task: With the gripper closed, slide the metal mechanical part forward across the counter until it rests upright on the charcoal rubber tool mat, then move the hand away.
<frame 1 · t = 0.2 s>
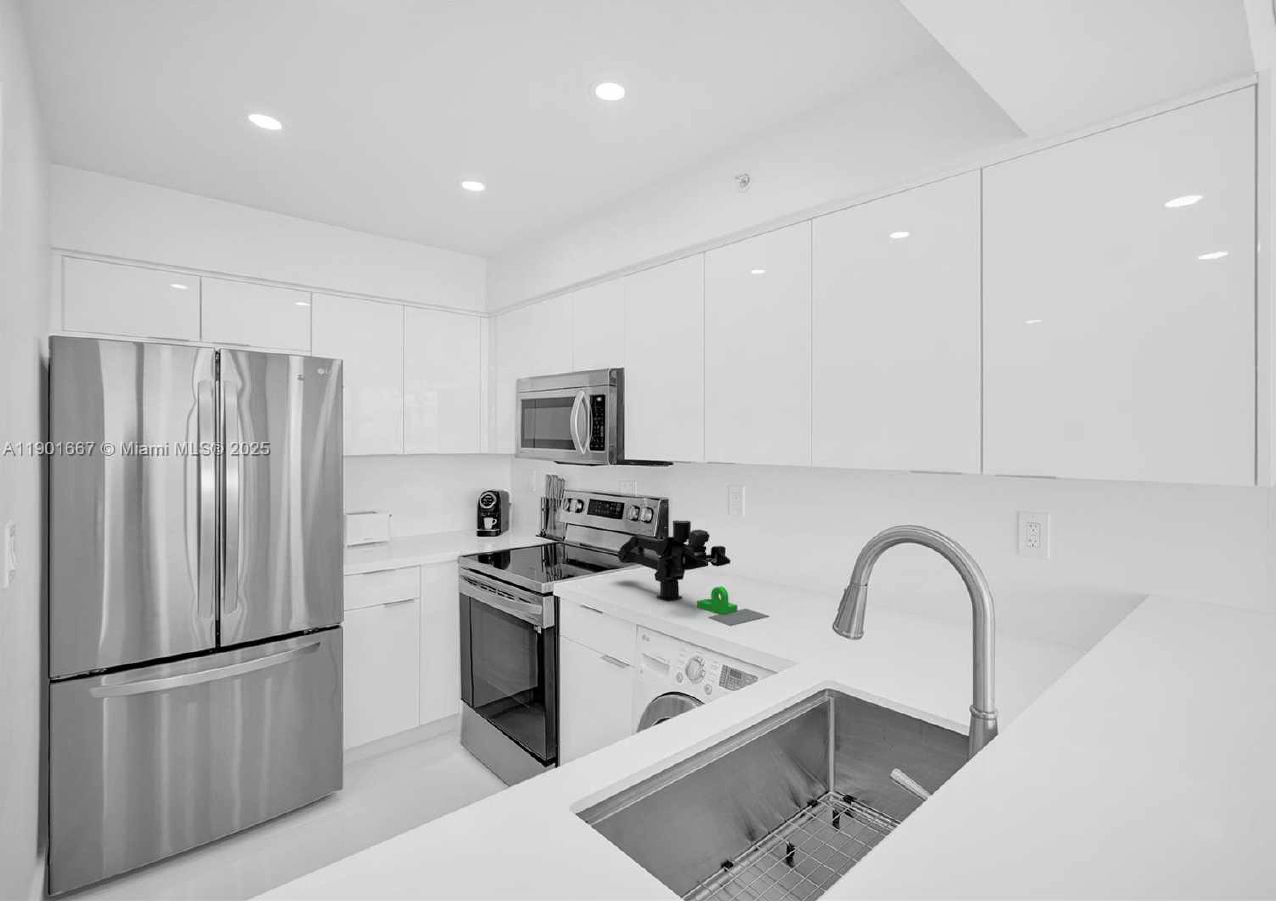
hand: (719, 563, 192), 16 cm above the counter, tool horizontal, fingers open, 9 cm apart
mechanical part: (716, 609, 199), on the counter, touching tool mat
tool mat: (738, 617, 190), on the counter
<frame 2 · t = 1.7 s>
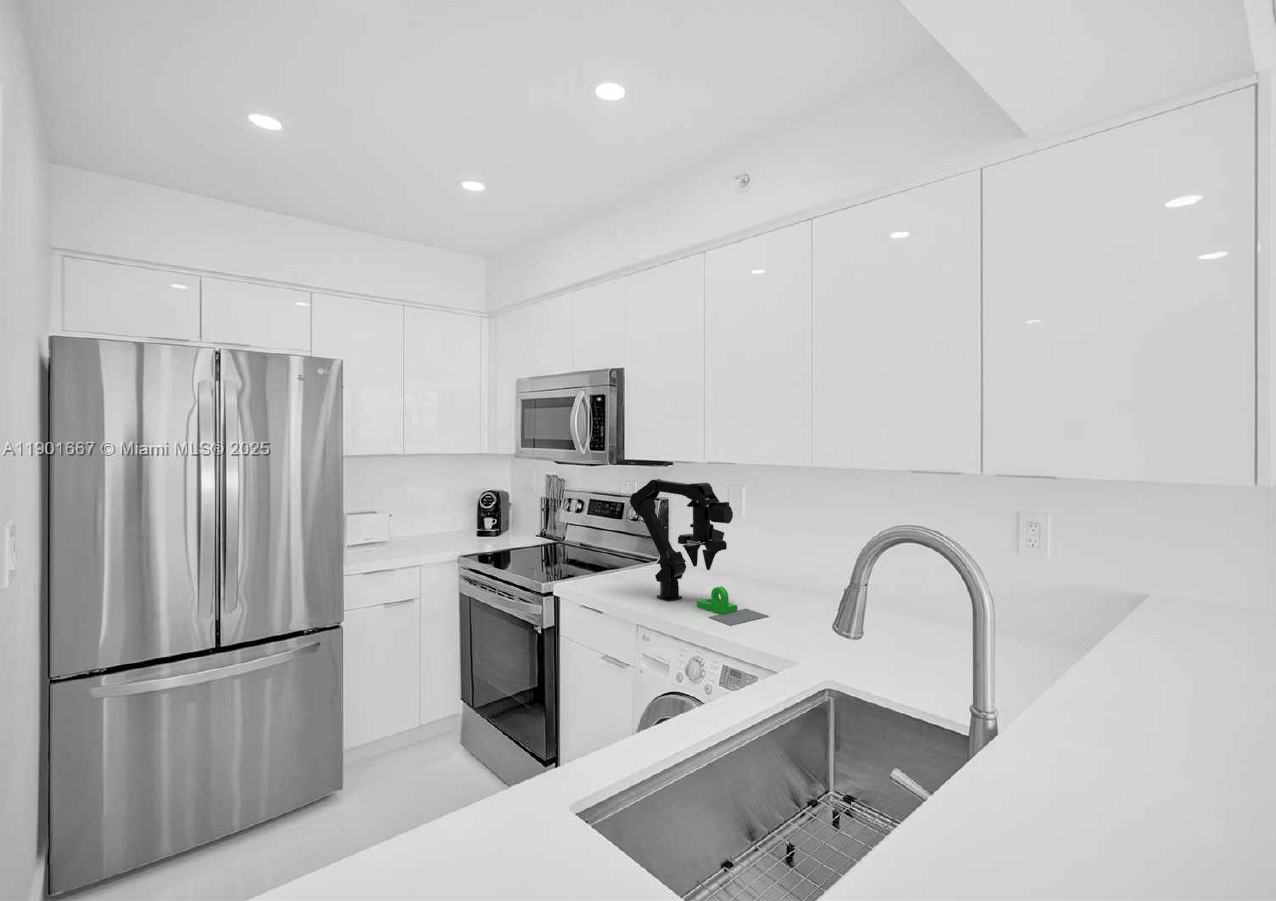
hand: (701, 568, 205), 12 cm above the counter, tool pointing down, fingers open, 6 cm apart
nothing on the counter moved.
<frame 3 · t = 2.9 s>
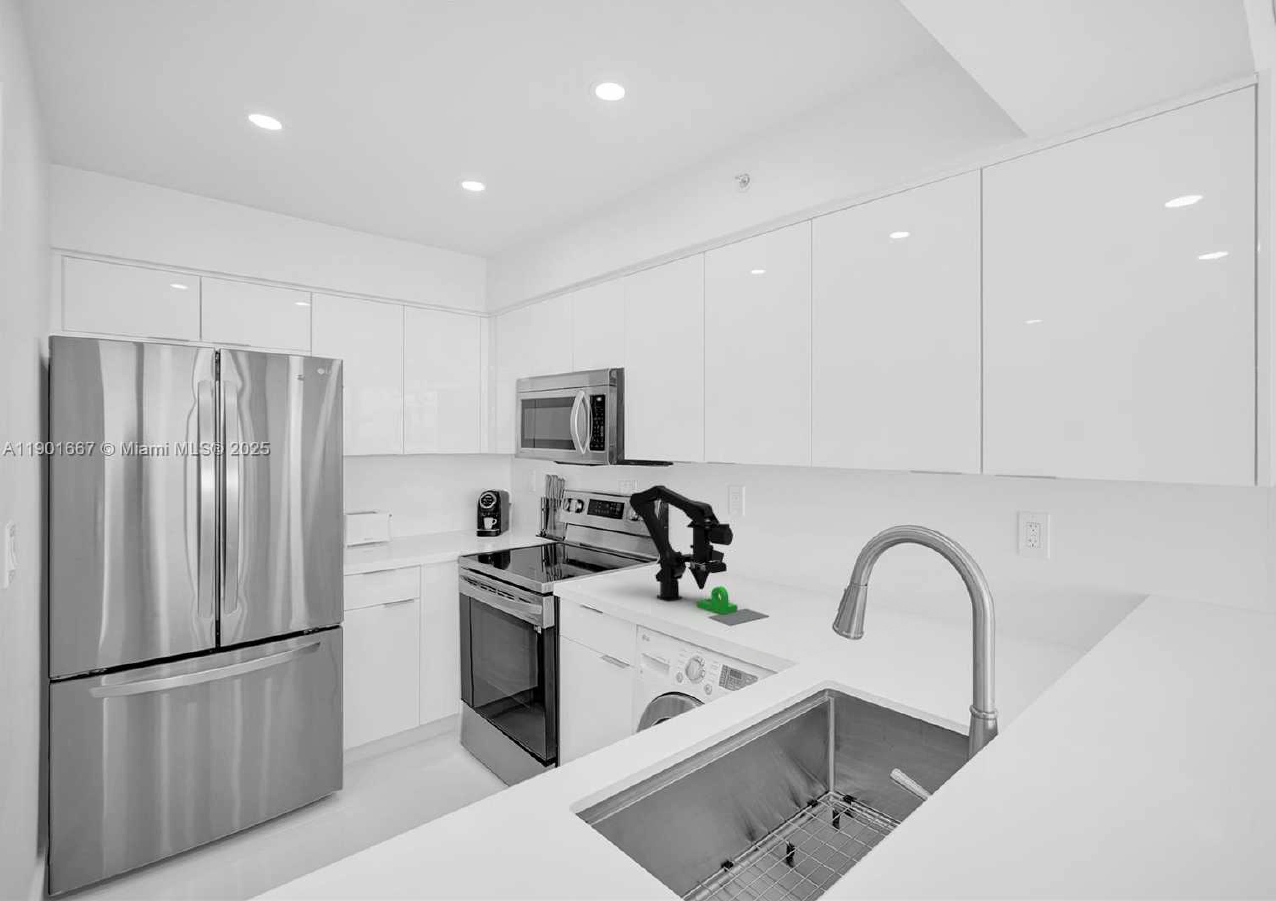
hand: (701, 589, 205), 5 cm above the counter, tool pointing down, fingers closed
nothing on the counter moved.
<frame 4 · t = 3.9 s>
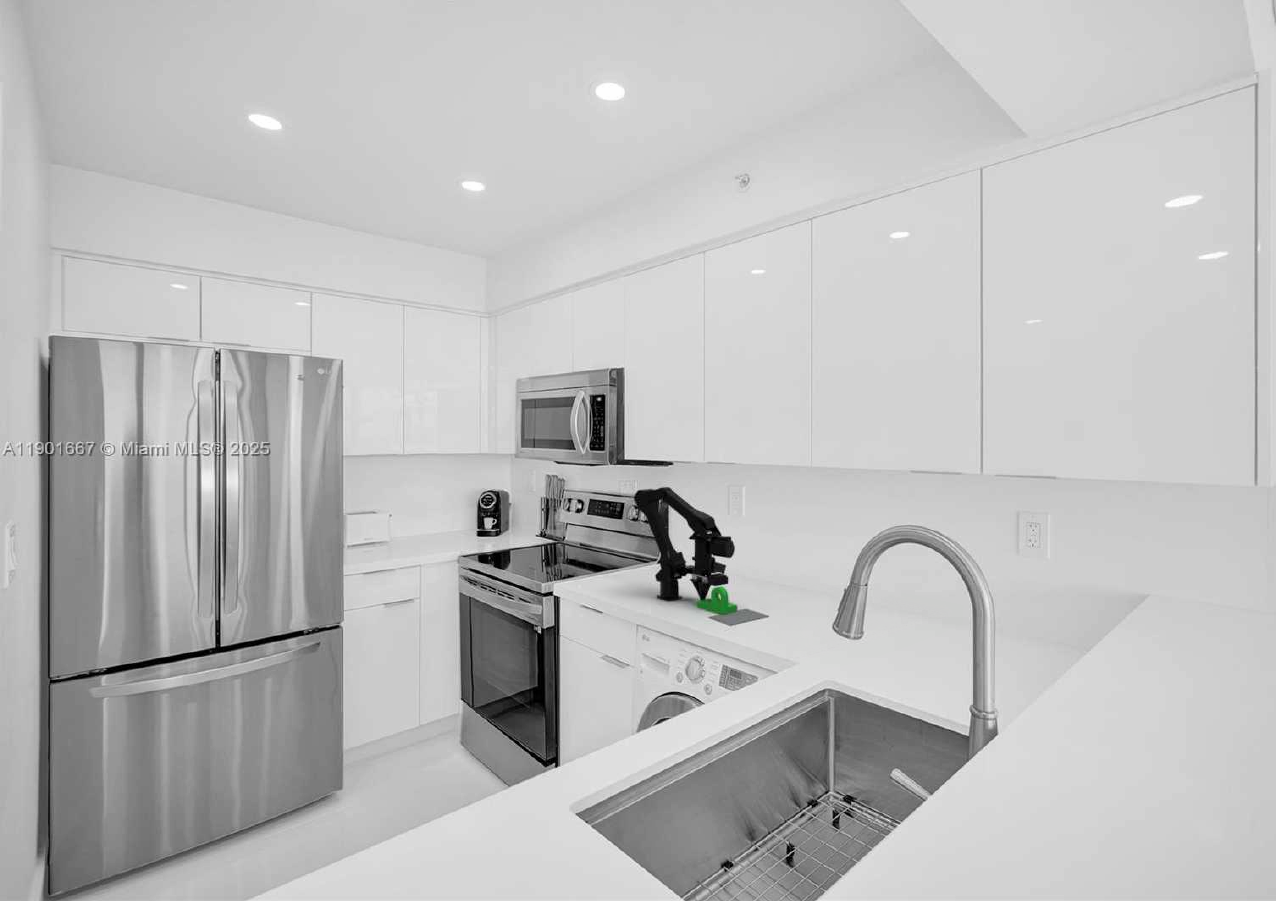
hand: (703, 601, 204), 1 cm above the counter, tool pointing down, fingers closed
mechanical part: (716, 609, 199), on the counter, touching gripper, tool mat
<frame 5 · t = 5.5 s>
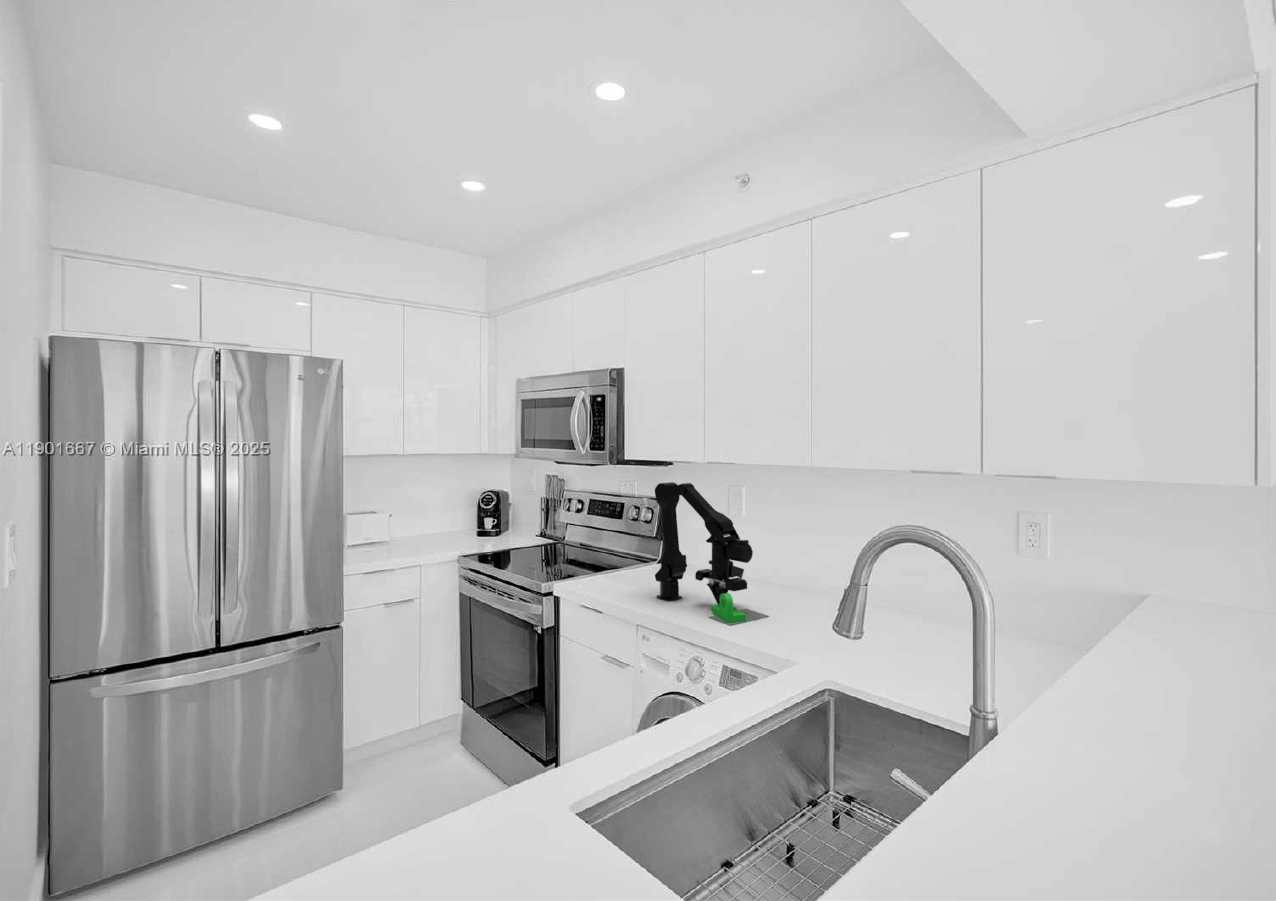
hand: (720, 606, 197), 1 cm above the counter, tool pointing down, fingers closed
mechanical part: (727, 617, 190), on the counter, touching gripper
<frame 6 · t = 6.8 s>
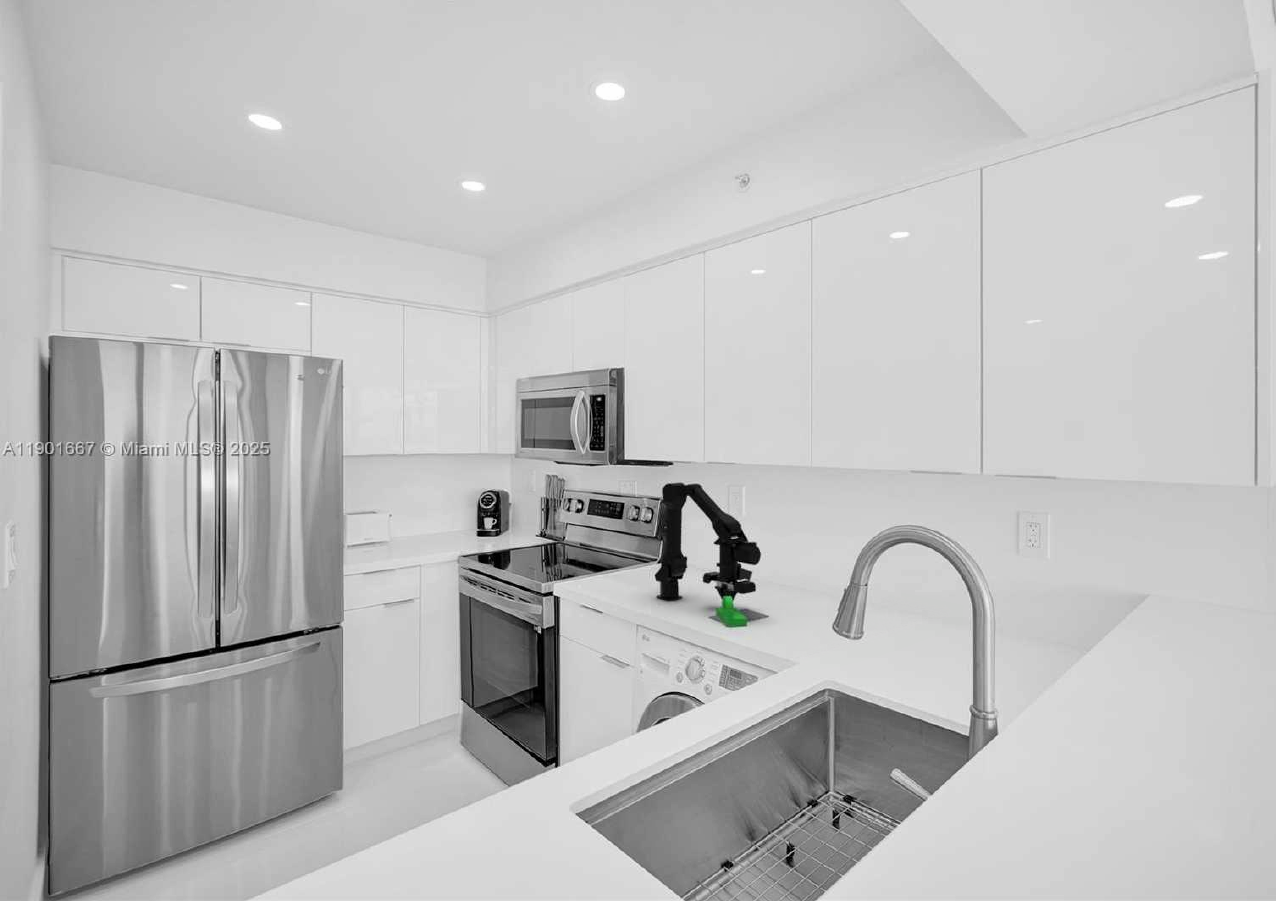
hand: (728, 609, 194), 1 cm above the counter, tool pointing down, fingers closed
mechanical part: (731, 620, 187), on the counter, touching gripper, tool mat
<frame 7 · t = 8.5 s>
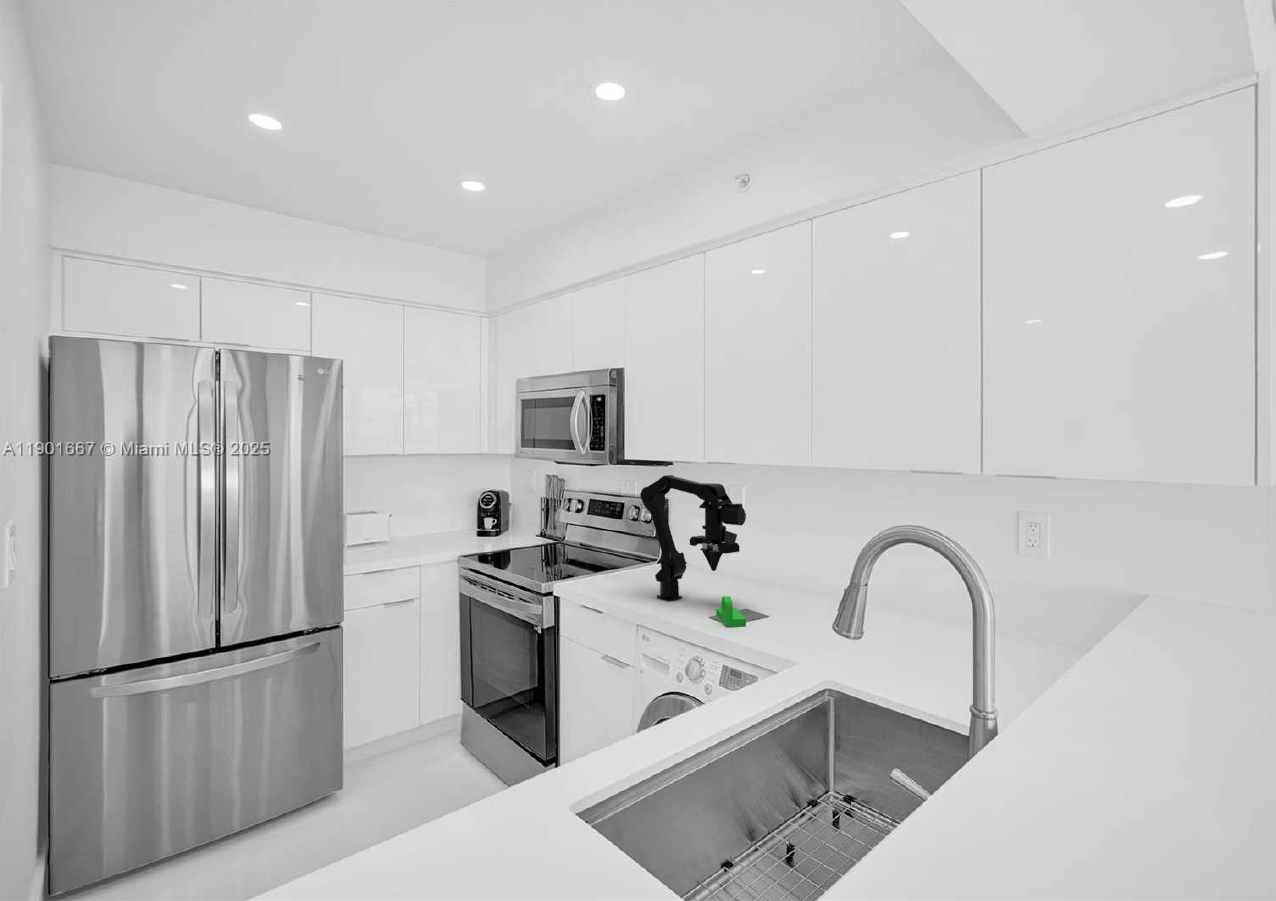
hand: (713, 570, 201), 12 cm above the counter, tool pointing down, fingers closed
mechanical part: (730, 620, 187), on the counter, touching tool mat
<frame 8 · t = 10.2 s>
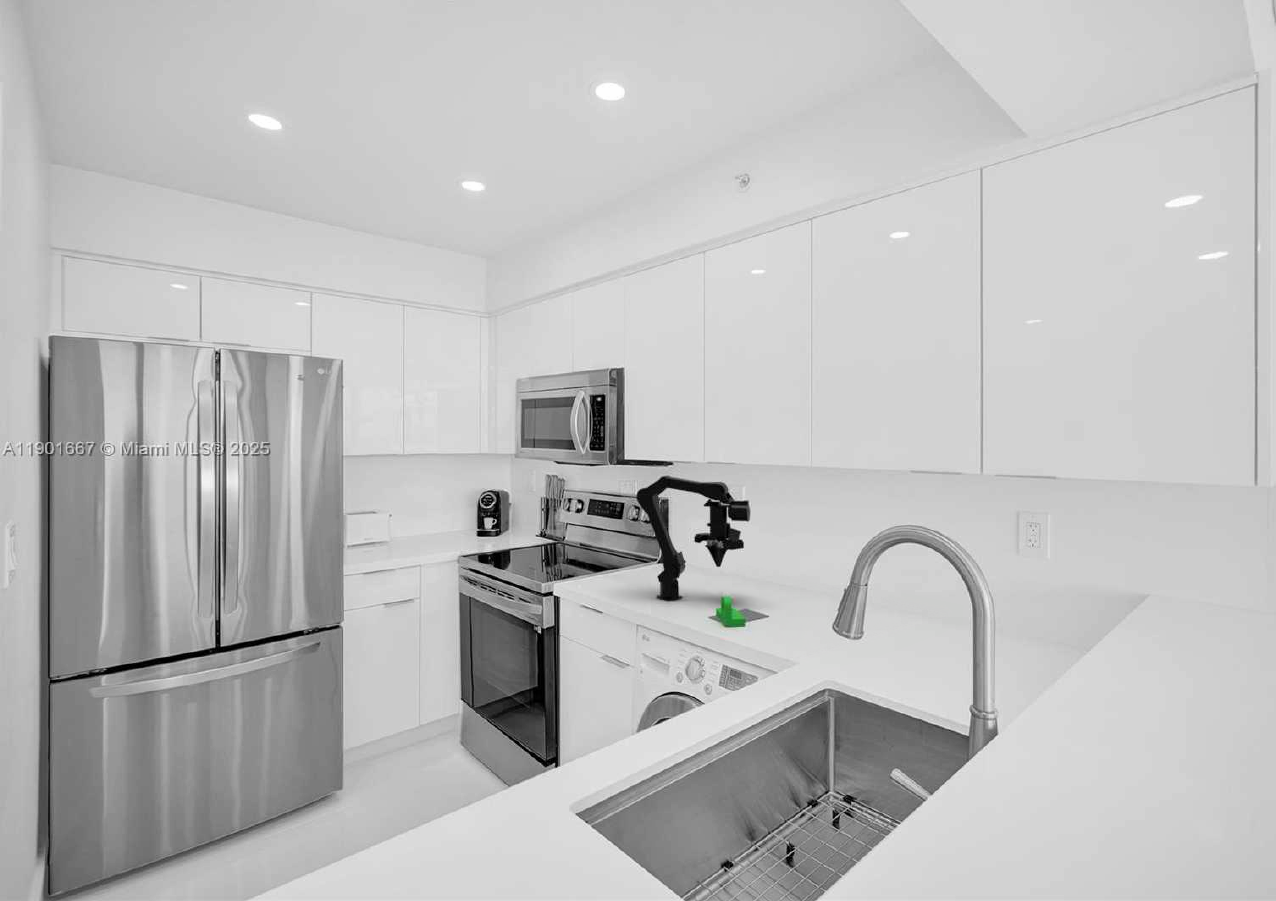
hand: (718, 566, 207), 12 cm above the counter, tool pointing down, fingers closed
nothing on the counter moved.
at the end: mechanical part inside the target area on the tool mat (4.6 cm from its centre), point 0.0 cm above the tool mat's base; mechanical part tilted 0°; mechanical part moved 12.0 cm from its start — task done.
